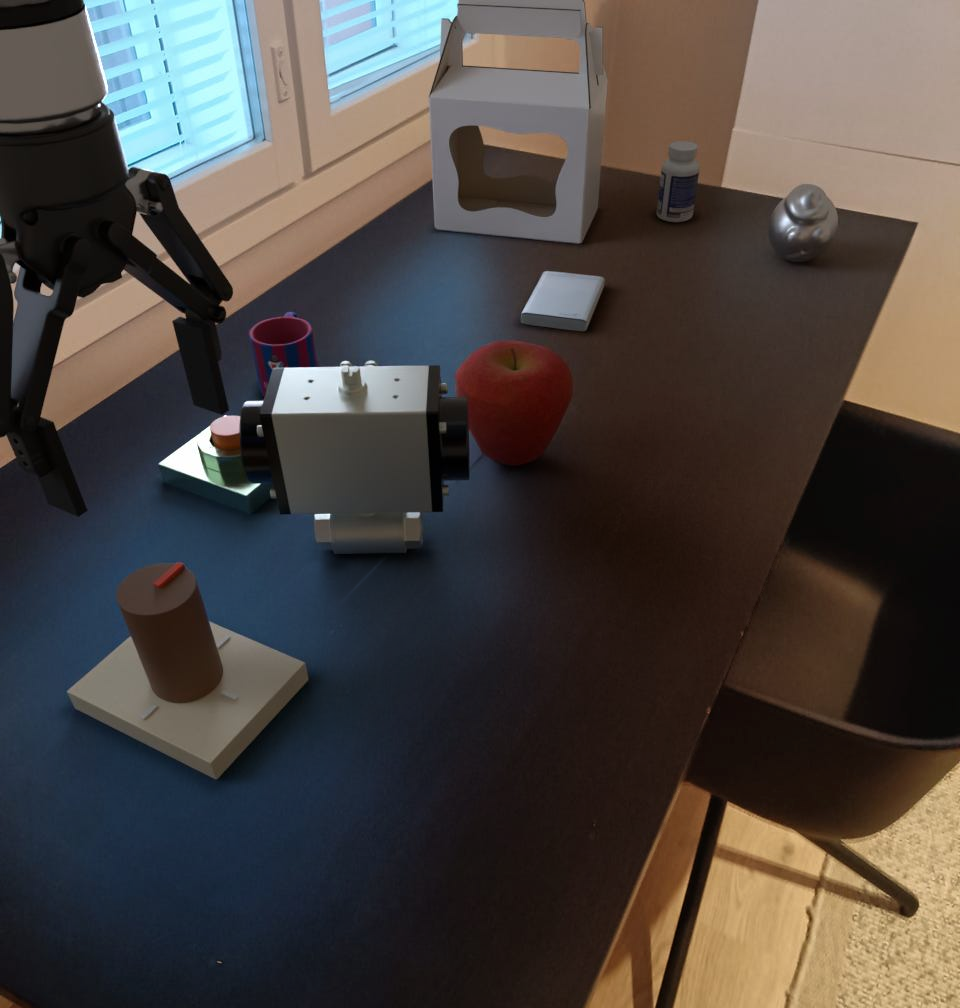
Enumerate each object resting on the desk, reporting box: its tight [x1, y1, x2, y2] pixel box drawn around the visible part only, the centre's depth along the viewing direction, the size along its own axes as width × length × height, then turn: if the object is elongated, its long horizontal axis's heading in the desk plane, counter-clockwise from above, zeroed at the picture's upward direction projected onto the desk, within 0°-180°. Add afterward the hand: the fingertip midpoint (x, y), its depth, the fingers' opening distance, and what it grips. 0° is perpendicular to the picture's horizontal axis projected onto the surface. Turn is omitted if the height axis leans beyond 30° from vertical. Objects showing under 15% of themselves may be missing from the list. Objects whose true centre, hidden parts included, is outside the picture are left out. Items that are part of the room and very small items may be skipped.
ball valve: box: [239, 360, 470, 555], centre depth 78 cm, size 18×8×18 cm, turn 91°
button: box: [209, 414, 240, 450], centre depth 89 cm, size 4×4×2 cm
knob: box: [115, 561, 223, 703], centre depth 67 cm, size 5×5×9 cm
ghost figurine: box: [767, 183, 839, 263], centre depth 123 cm, size 9×10×10 cm
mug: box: [248, 311, 319, 397], centre depth 103 cm, size 7×10×7 cm
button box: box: [157, 414, 274, 515], centre depth 91 cm, size 11×10×4 cm
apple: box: [454, 340, 574, 467], centre depth 89 cm, size 11×11×12 cm
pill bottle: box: [655, 140, 701, 223], centre depth 134 cm, size 5×5×10 cm
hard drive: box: [520, 270, 605, 332], centre depth 117 cm, size 2×8×12 cm
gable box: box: [428, 0, 609, 245], centre depth 127 cm, size 22×13×28 cm, turn 75°
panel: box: [66, 621, 310, 781], centre depth 71 cm, size 14×11×2 cm
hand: (144, 454), depth 63 cm, fingers open, 13 cm apart
